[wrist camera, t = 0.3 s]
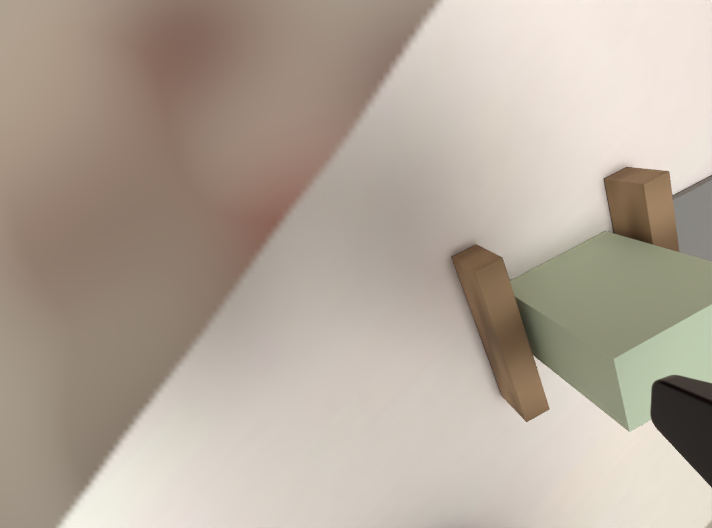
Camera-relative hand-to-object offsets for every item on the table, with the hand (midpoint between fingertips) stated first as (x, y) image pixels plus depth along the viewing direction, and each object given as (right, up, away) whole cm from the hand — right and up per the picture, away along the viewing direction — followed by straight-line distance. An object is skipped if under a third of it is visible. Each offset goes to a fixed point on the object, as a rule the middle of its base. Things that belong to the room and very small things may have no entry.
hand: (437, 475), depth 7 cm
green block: (+10, +2, +17) cm, 20 cm away
